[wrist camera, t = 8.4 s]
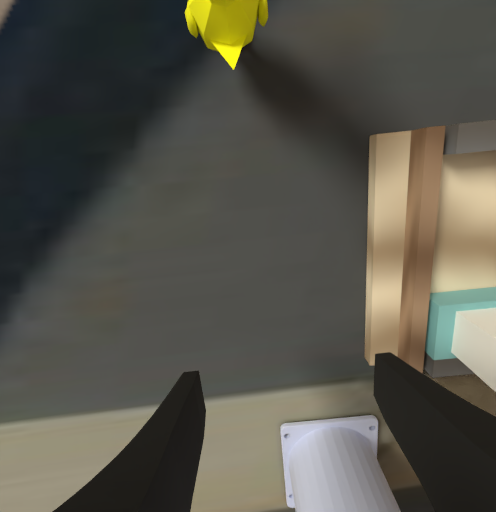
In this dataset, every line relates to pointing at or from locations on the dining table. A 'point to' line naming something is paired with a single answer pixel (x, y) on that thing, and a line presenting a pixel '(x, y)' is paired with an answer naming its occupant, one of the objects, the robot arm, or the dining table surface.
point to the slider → (464, 330)
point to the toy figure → (226, 24)
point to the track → (427, 233)
